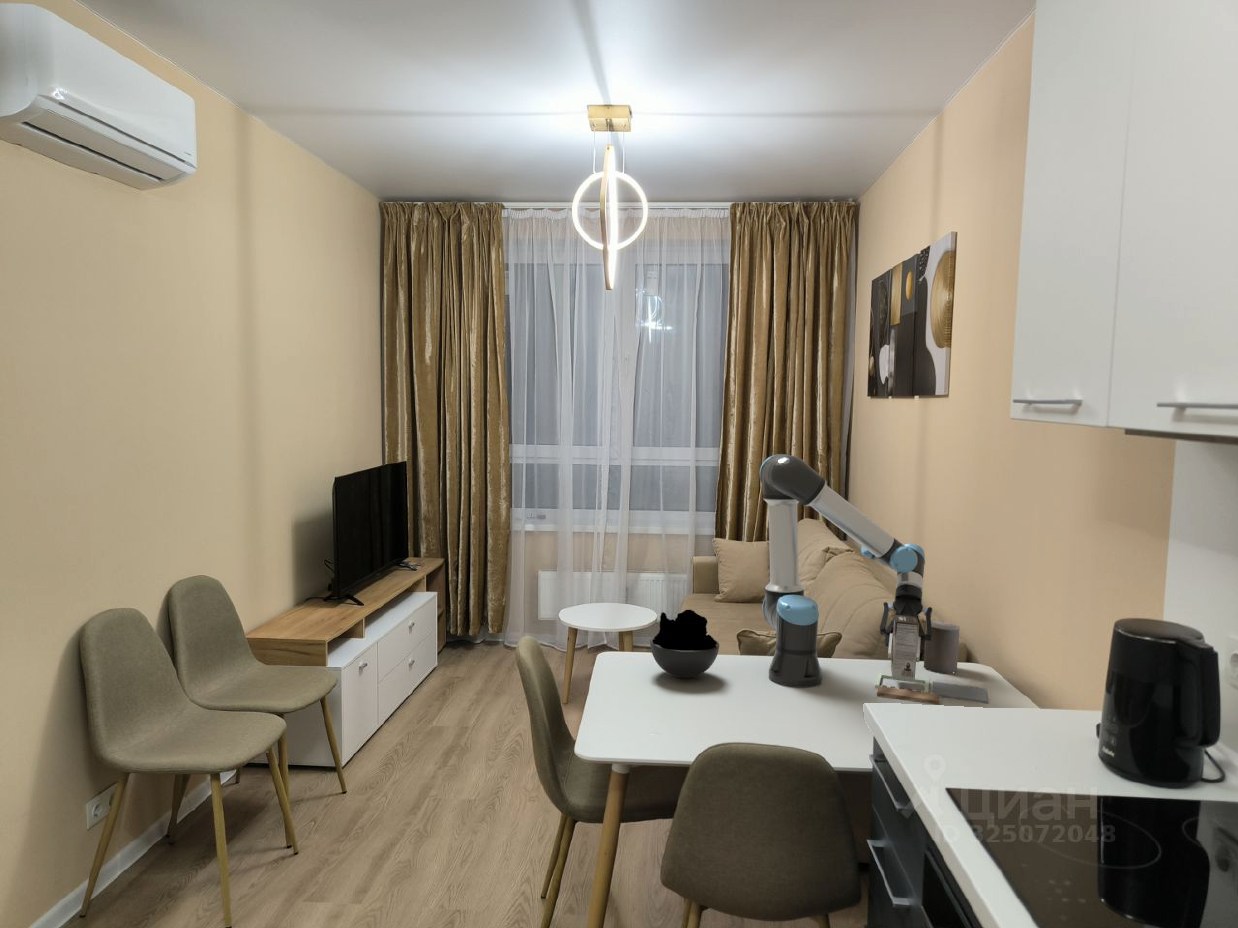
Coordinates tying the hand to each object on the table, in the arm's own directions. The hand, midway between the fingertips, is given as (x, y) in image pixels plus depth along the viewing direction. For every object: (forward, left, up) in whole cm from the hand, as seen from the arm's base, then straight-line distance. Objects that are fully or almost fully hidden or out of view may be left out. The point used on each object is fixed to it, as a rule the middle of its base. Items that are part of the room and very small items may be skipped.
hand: (903, 657), depth 226 cm
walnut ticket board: (+2, -7, -9) cm, 11 cm away
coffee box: (0, +3, -6) cm, 7 cm away
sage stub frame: (0, +3, -9) cm, 10 cm away
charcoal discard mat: (+15, +3, -9) cm, 18 cm away
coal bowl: (-59, -17, -9) cm, 62 cm away
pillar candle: (+10, +26, -9) cm, 29 cm away
